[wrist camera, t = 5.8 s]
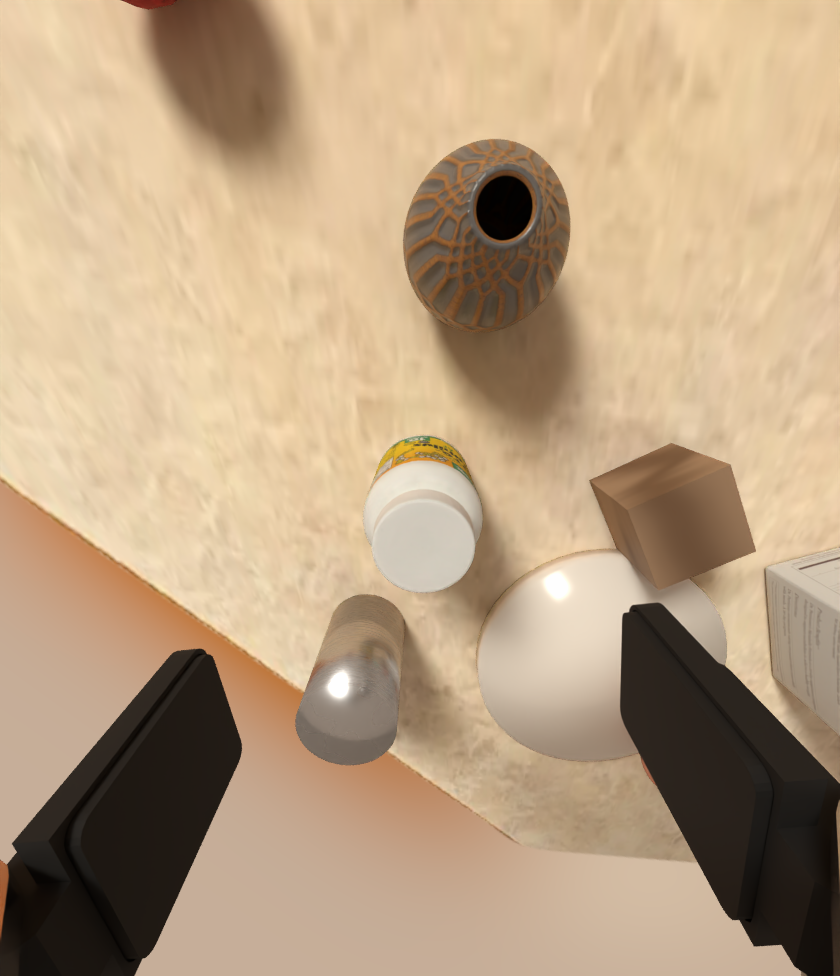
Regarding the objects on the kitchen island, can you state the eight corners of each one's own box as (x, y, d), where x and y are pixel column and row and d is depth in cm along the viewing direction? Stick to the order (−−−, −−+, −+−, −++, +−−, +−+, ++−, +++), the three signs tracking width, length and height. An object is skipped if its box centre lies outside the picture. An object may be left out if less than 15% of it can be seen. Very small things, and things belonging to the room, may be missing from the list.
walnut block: (670, 442, 24) (730, 464, 20) (694, 514, 26) (756, 551, 21) (588, 480, 25) (627, 509, 20) (616, 547, 26) (658, 590, 22)
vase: (567, 226, 21) (660, 142, 13) (501, 357, 23) (545, 359, 15) (442, 157, 20) (455, 19, 12) (385, 299, 22) (361, 267, 14)
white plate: (723, 535, 26) (739, 545, 25) (703, 734, 31) (715, 751, 29) (465, 563, 27) (467, 574, 25) (485, 752, 32) (487, 770, 30)
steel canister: (399, 591, 27) (389, 681, 20) (408, 654, 29) (402, 761, 21) (324, 598, 28) (286, 689, 20) (337, 660, 29) (305, 768, 22)
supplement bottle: (361, 489, 25) (326, 566, 16) (408, 414, 24) (398, 452, 15) (436, 534, 26) (442, 631, 17) (485, 463, 25) (521, 528, 16)
